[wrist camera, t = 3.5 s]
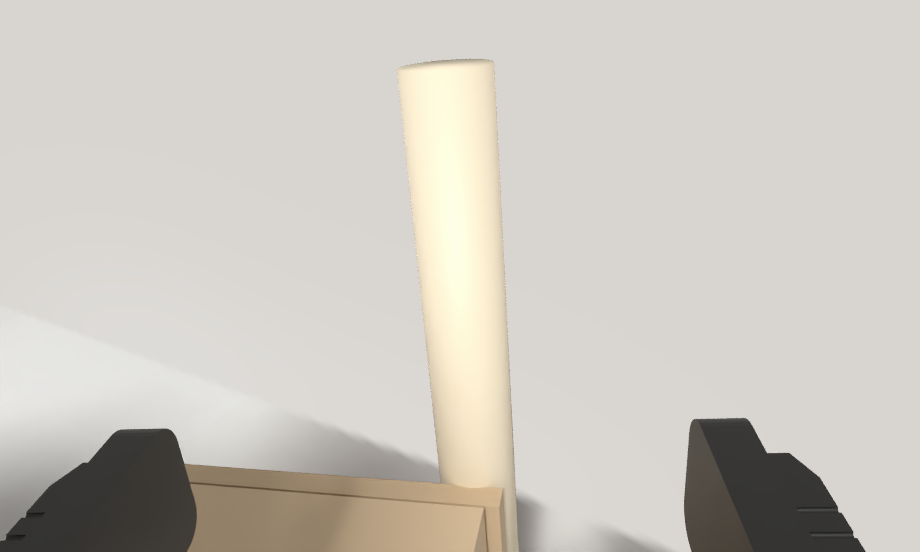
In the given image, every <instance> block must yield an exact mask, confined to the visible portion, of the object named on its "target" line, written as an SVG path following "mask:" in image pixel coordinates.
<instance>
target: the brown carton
mask: <svg viewBox="0 0 920 552" xmlns="http://www.w3.org/2000/svg"><path fill="white" fill-rule="evenodd" d="M190 485H191V489H192V492H193V496H194V499H195V503H196V509H197V522H196V529H195V534H194V537H193V540H192V543H191V545H190V547H189V549H188V551H187V552H487V546H486V532H485V519H484V508H479V507H467V506H455V505H443V504H431V503H418V502H406V501H394V500H382V499H370V498H358V497H345V496H333V495H321V494H309V493H297V492H284V491H272V490H260V489H248V488H236V487H224V486H211V485H199V484H190Z"/></svg>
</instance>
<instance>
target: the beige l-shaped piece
mask: <svg viewBox="0 0 920 552" xmlns="http://www.w3.org/2000/svg"><path fill="white" fill-rule="evenodd" d="M397 74H398V83H399V92H400V102H401V111H402V121H403V131H404V140H405V150H406V158H407V168H408V178H409V187H410V196H411V206H412V216H413V225H414V235H415V244H416V254H417V263H418V272H419V280H420V281H419V282H420V291H421V301H422V310H423V320H424V328H425V338H426V347H427V356H428V367H429V376H430V386H431V394H432V405H433V413H434V423H435V433H436V442H437V452H438V461H439V471H440V480H441V483H428V482H415V481H402V480H389V479H376V478H362V477H349V476H336V475H323V474H310V473H296V472H283V471H270V470H257V469H243V468H230V467H217V466H204V465H191V464H184V465H185V468H186V472H187V475H188V479H189V482H190V484H199V485H211V486H224V487H236V488H248V489H260V490H272V491H284V492H297V493H309V494H321V495H333V496H345V497H358V498H370V499H382V500H394V501H406V502H418V503H431V504H443V505H455V506H467V507H479V508H484V519H485V532H486V546H487V552H519V547H518V528H517V508H516V488H515V469H514V448H513V432H512V431H513V429H512V410H511V389H510V369H509V349H508V330H507V311H506V292H505V291H506V290H505V271H504V251H503V231H502V212H501V191H500V172H499V153H498V132H497V112H496V92H495V72H494V61H492V60H485V59H456V60H441V61H432V62H424V63H417V64H411V65H406V66H403V67H400V68H398V69H397Z"/></svg>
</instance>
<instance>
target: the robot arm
mask: <svg viewBox="0 0 920 552" xmlns="http://www.w3.org/2000/svg"><path fill="white" fill-rule="evenodd" d="M684 498H685V499H684V514H685V523H686V531H687V536H688V540H689V544H690V548H691V551H692V552H865V550H864V548H863V547H862V546H861V544H860V542H859V540H858V539H857V538H854V536H853V531H852V529H851V527H850V526H849V524H848V523H847V521H846V519H845V518H844V516H843V515H842V513H839V512H838V507H837V505H836V503H835V502H834V500H833V498H832V497H831V495H830V493H829V492H828V490H827V489H826V487H825V485H824V484H823V482H822V481H821V479H820V477H818V476H817V475H816V474H814V473H813V472H812V471H811V470H810V469H808V468H807V467H806V466H805V465H803V464H802V463H801V462H800V461H798V460H797V459H796V458H795V457H793V456H792V455H791V454H790V453H767V452H766V451H765V449H764V447H763V445H762V443H761V441H760V440H759V438H758V436H757V434H756V432H755V430H754V428H753V427H752V425H751V423H750V422H749V421H748V420H747V419H746V418H728V419H694V420H693V421H692V422H691V426H690V432H689V446H688V458H687V471H686V484H685V497H684ZM26 514H27V515H26V518H21V519H20V520H19V521H18V522H17V524H16V525H15V526H14V527H13V528H12V529H11V530H10V531H9V532H8V534H7V535H6V536H7V537H6V540H5V541H0V552H187V551H188V549H189V547H190V545H191V543H192V540H193V537H194V534H195V529H196V522H197V509H196V503H195V499H194V496H193V492H192V489H191V485H190V482H189V479H188V475H187V472H186V468H185V465H184V462H183V458H182V455H181V451H180V448H179V444H178V441H177V438H176V436H175V434H174V433H173V432H172V431H171V430H169V429H126V430H119V431H117V432H115V433H114V434H113V435H112V436H111V437H110V438H109V439H108V440H107V441H106V443H105V444H104V445H103V446H102V447H101V448H100V450H99V451H98V452H97V453H96V454H95V455H94V457H93V458H92V459H91V460H90V461H89V462H88V463H82V464H81V465H79V466H78V467H76V468H75V469H74V470H72V471H71V472H69V473H68V474H66V475H65V476H64V477H62V478H61V479H59V480H58V481H56V482H55V483H54V484H52V485H51V486H50V487H49V488H48V489H47V490H46V491H45V492H44V493H43V494H42V496H41V497H40V498H39V499H38V500H37V501H36V502H35V503H34V505H33V506H32V507H31V508H30V509H29V510H28V511H27V512H26Z"/></svg>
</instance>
